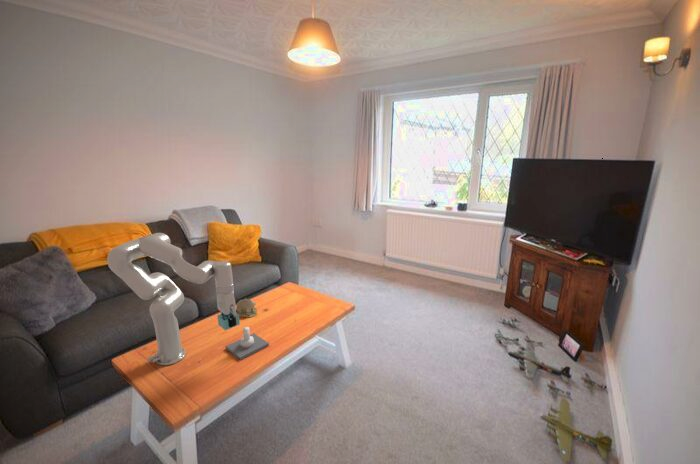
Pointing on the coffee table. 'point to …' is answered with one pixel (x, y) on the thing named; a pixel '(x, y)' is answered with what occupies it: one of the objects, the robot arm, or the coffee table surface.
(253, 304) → the ceramic model
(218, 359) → the coffee table surface
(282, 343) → the coffee table surface
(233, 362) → the coffee table surface
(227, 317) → the collar
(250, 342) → the post plate
